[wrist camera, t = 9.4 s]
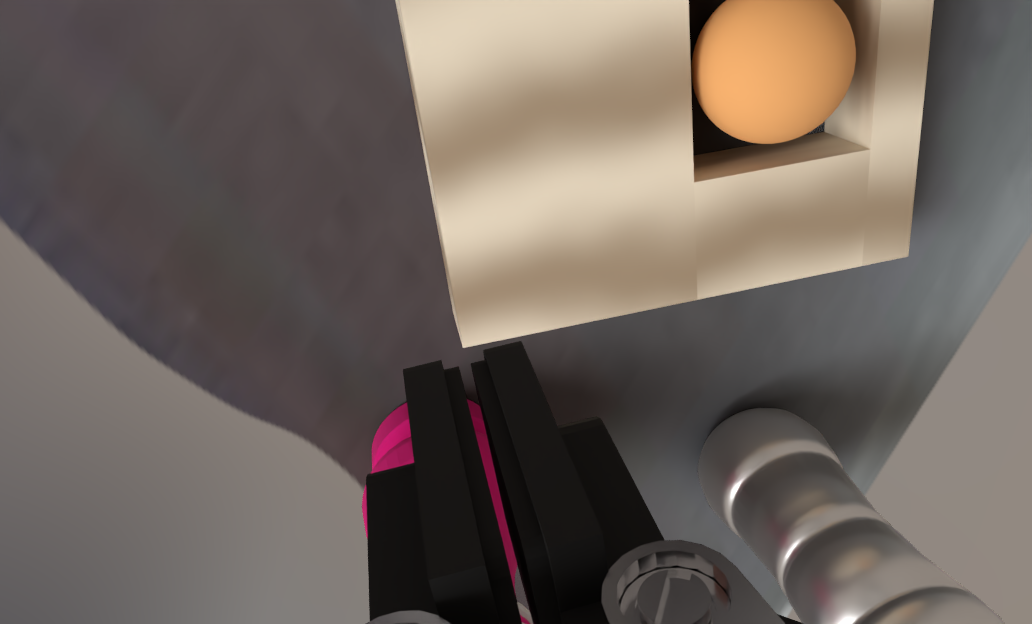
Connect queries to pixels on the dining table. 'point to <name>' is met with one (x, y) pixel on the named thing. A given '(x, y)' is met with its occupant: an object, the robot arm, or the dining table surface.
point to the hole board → (642, 161)
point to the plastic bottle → (822, 529)
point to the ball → (773, 67)
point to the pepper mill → (397, 451)
